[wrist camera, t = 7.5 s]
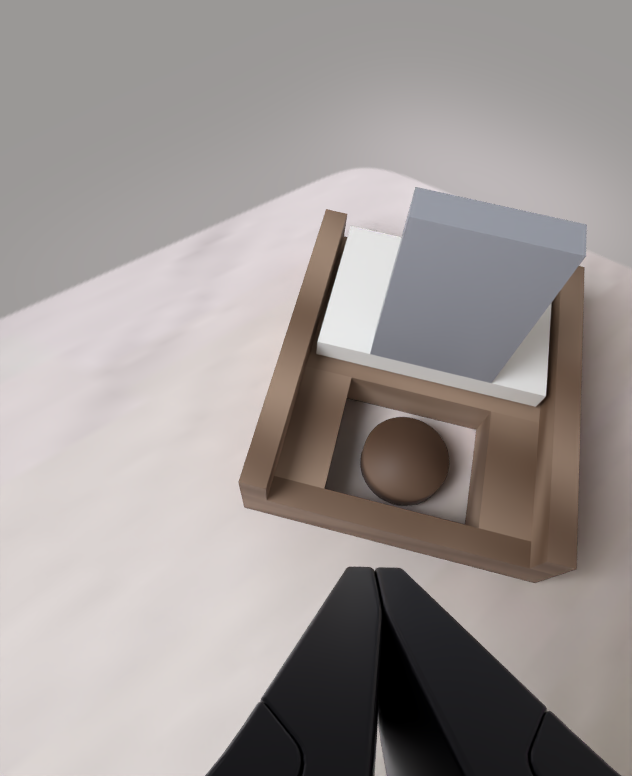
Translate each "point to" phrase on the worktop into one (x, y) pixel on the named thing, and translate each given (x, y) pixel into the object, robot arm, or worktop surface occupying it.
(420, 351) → the lid
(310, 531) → the worktop surface
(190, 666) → the worktop surface
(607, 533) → the worktop surface
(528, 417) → the board
